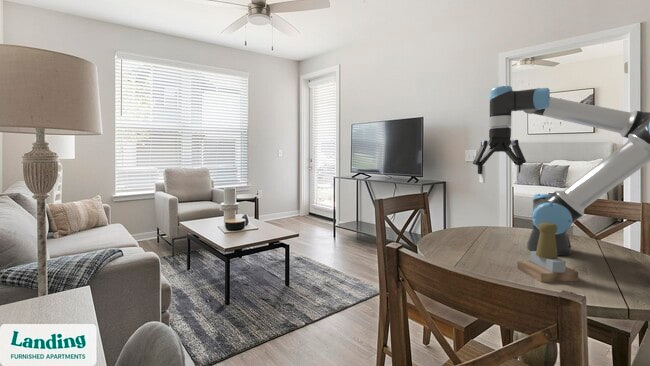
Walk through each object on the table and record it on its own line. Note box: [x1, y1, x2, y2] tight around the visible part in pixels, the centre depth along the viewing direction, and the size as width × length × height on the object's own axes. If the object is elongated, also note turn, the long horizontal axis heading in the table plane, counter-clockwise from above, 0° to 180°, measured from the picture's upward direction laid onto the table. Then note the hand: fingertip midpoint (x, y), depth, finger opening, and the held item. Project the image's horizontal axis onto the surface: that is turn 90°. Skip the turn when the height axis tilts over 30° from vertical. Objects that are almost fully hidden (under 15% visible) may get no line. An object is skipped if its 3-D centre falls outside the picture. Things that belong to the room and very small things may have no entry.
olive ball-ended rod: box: [536, 222, 559, 259], centre depth 108 cm, size 6×6×11 cm
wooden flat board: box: [516, 260, 579, 283], centre depth 109 cm, size 12×12×4 cm
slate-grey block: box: [529, 250, 567, 273], centre depth 109 cm, size 4×11×4 cm, turn 0°
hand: (498, 182), depth 130 cm, fingers open, 13 cm apart
